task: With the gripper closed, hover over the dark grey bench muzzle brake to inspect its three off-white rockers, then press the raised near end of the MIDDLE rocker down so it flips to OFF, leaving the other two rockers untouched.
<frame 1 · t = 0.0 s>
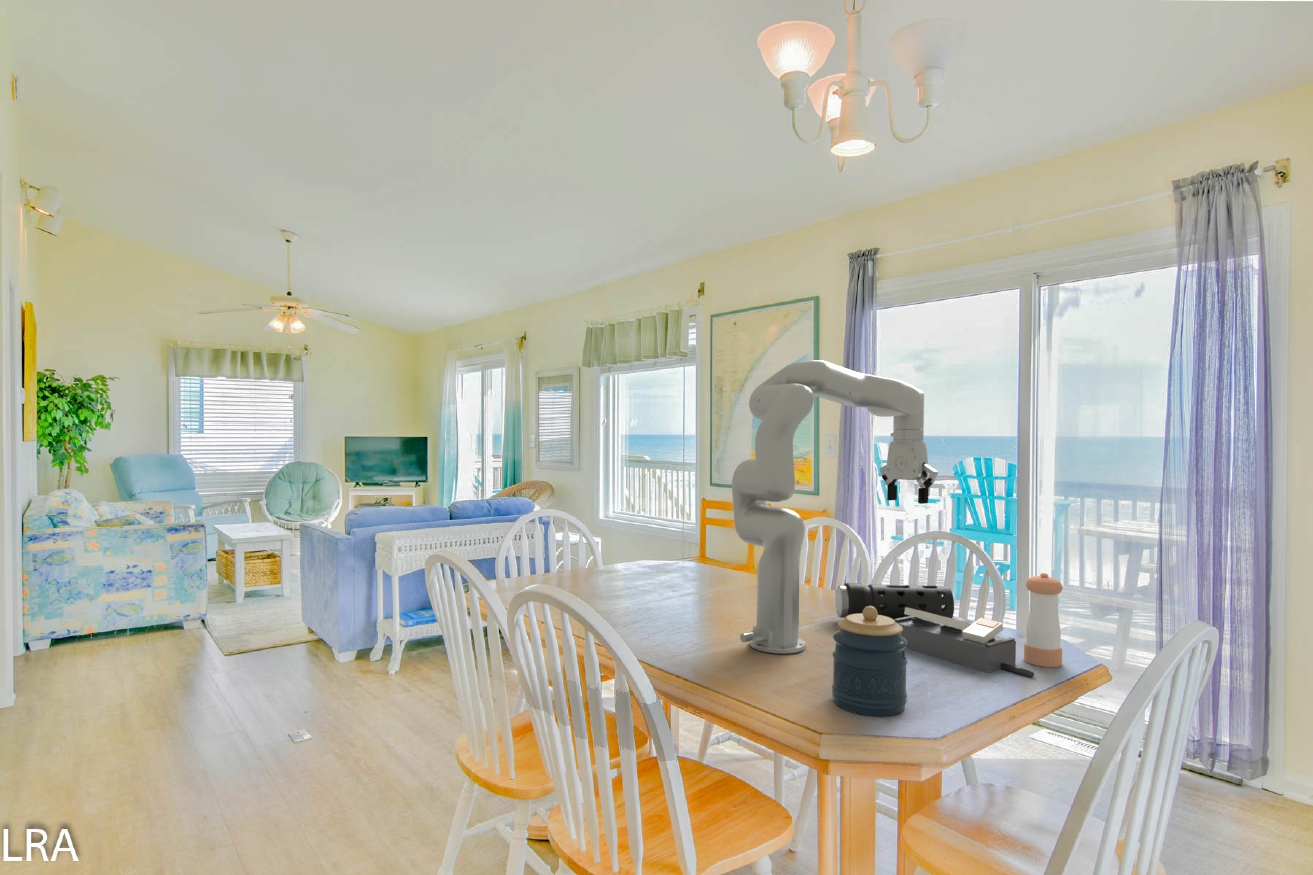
hand: (907, 501, 191), 31 cm above the table, fingers open, 9 cm apart
canister: (868, 704, 131), on the table
strip: (951, 653, 163), on the table
pepper shaker: (1042, 662, 157), on the table
rocker 3: (923, 614, 169), point 7 cm above the table, hinge at 17.0°
rocker 2: (951, 622, 163), point 7 cm above the table, hinge at 17.0°
muzzle brake: (892, 624, 188), on the table
rocker 1: (982, 630, 156), point 7 cm above the table, hinge at -17.0°
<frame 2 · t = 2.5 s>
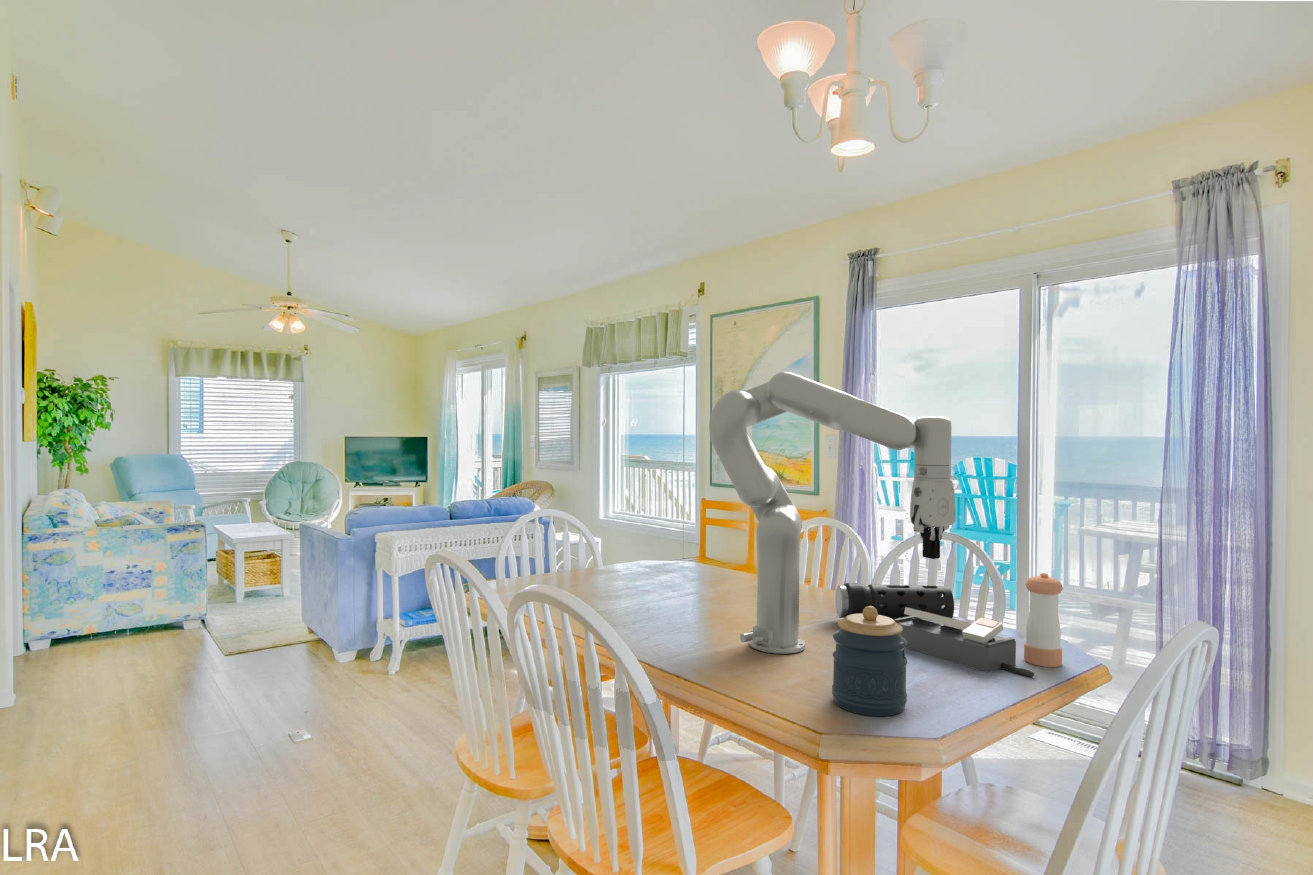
hand: (931, 557, 158), 22 cm above the table, fingers closed
nothing on the table moved.
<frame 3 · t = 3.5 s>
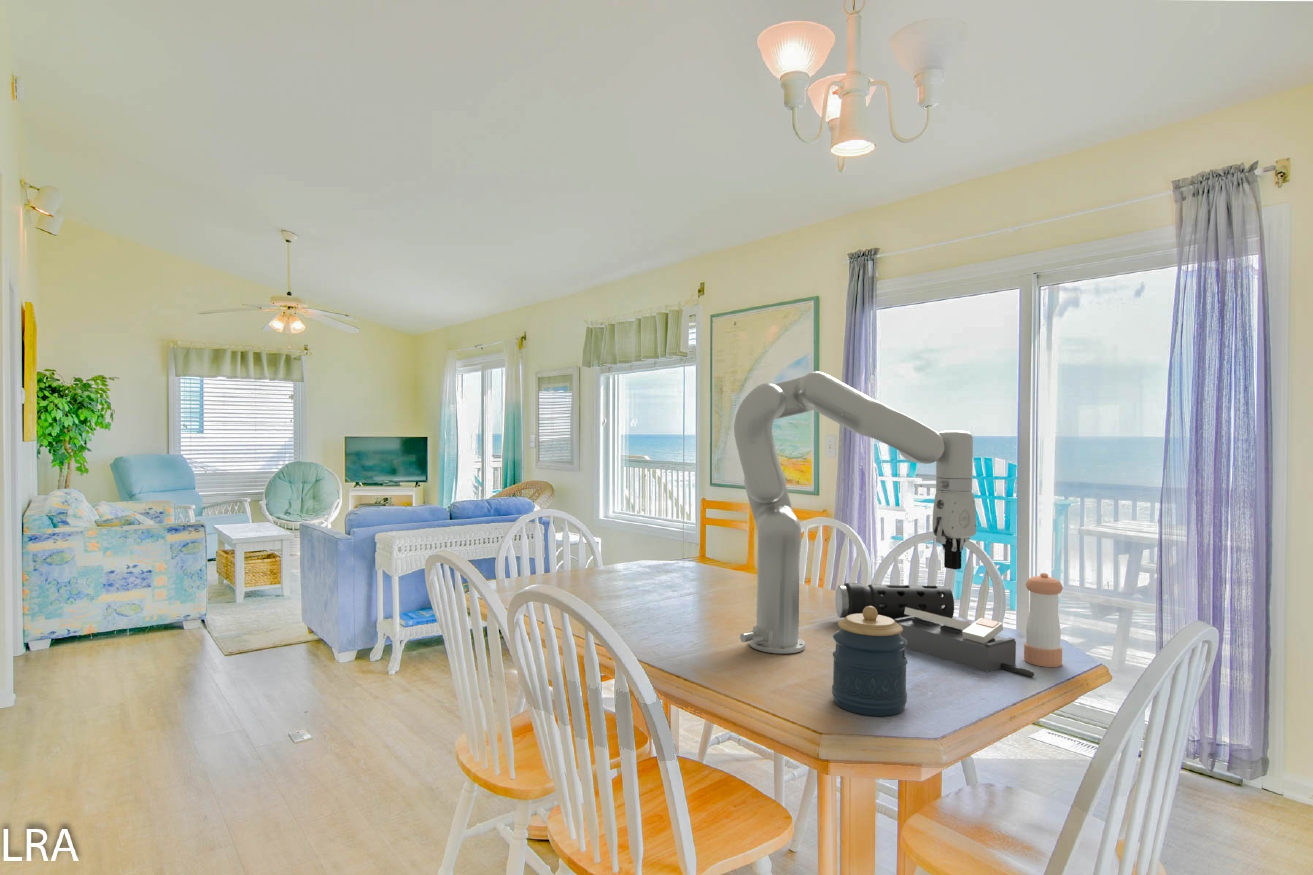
hand: (952, 568, 162), 19 cm above the table, fingers closed
nothing on the table moved.
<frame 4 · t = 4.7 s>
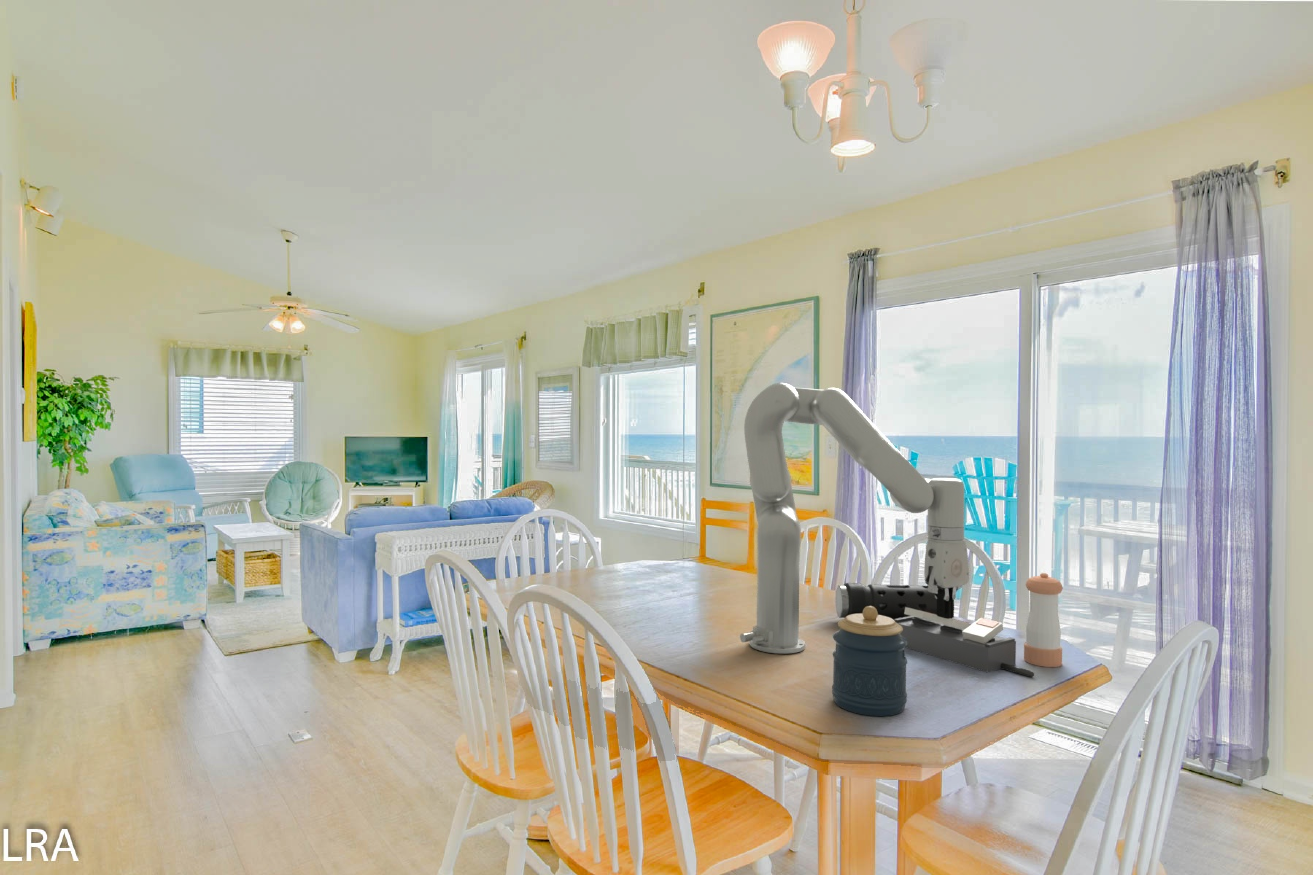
hand: (945, 616, 161), 9 cm above the table, fingers closed
rocker 2: (951, 622, 163), point 7 cm above the table, hinge at 17.0°, touching gripper
everything else where it was.
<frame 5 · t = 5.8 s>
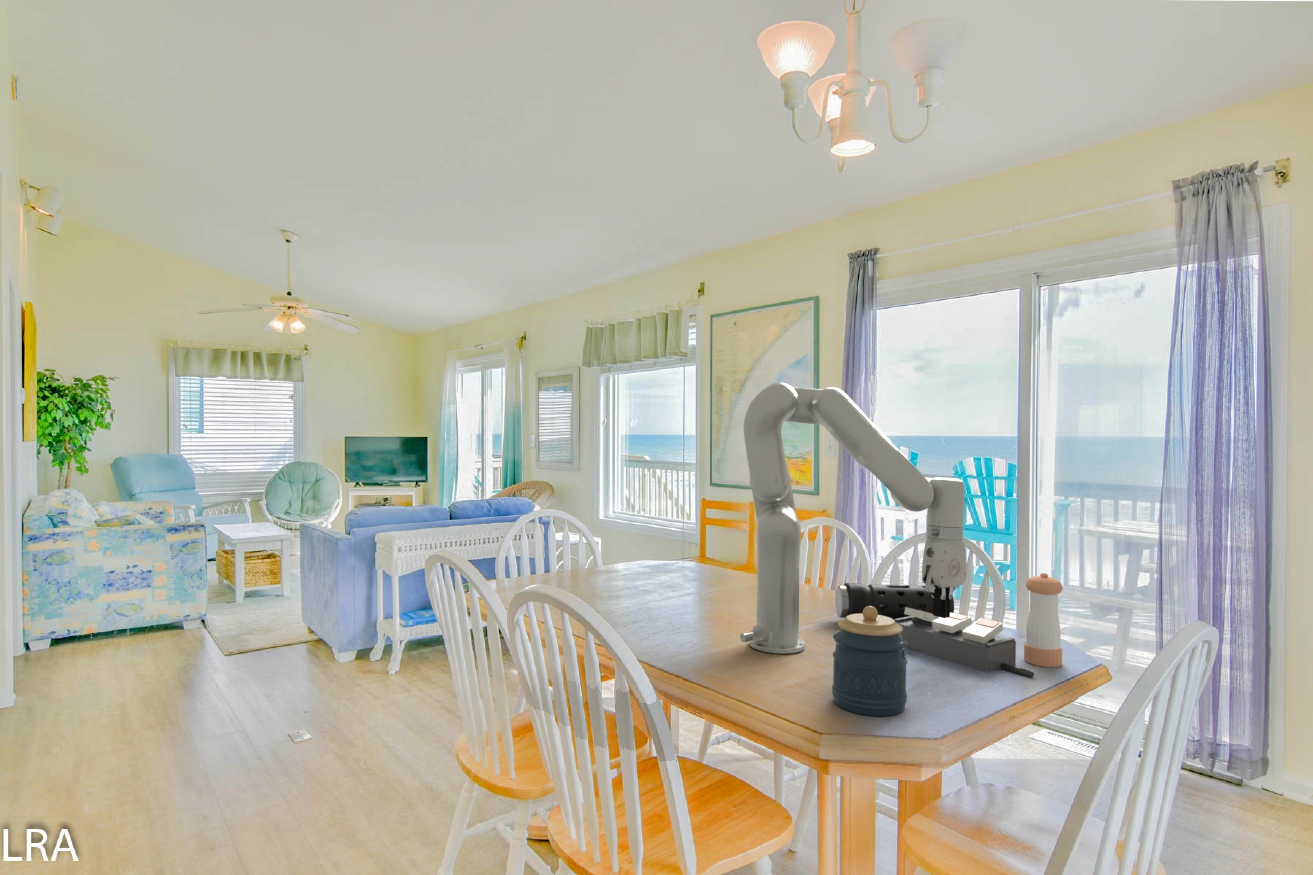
hand: (941, 616, 161), 9 cm above the table, fingers closed
rocker 2: (951, 622, 163), point 7 cm above the table, hinge at -8.9°
everything else where it was.
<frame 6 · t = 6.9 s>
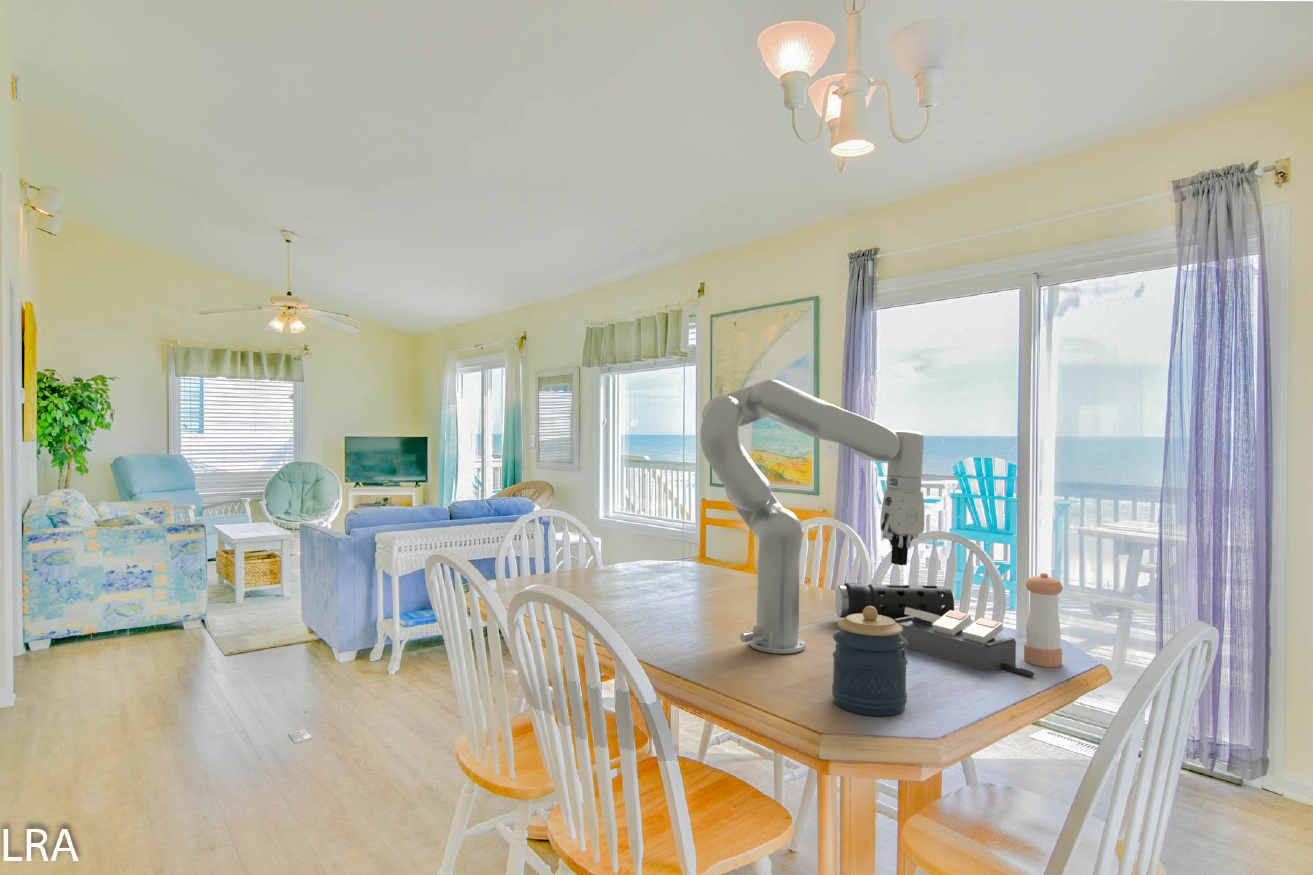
hand: (898, 563, 167), 19 cm above the table, fingers closed
rocker 2: (951, 622, 163), point 7 cm above the table, hinge at -19.8°, touching strip
everything else where it was.
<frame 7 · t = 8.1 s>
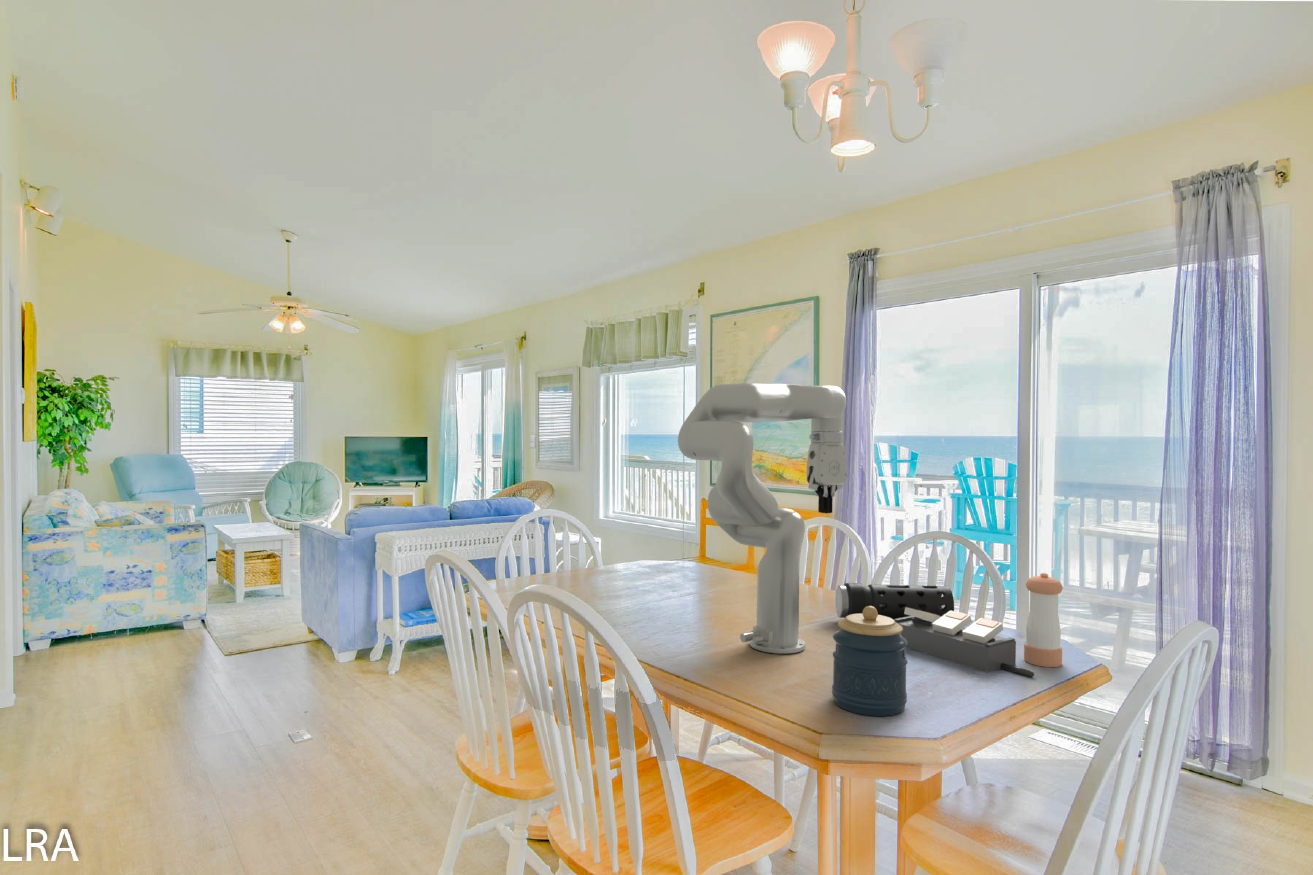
hand: (825, 512, 181), 29 cm above the table, fingers closed
rocker 2: (951, 622, 163), point 7 cm above the table, hinge at -17.7°
everything else where it was.
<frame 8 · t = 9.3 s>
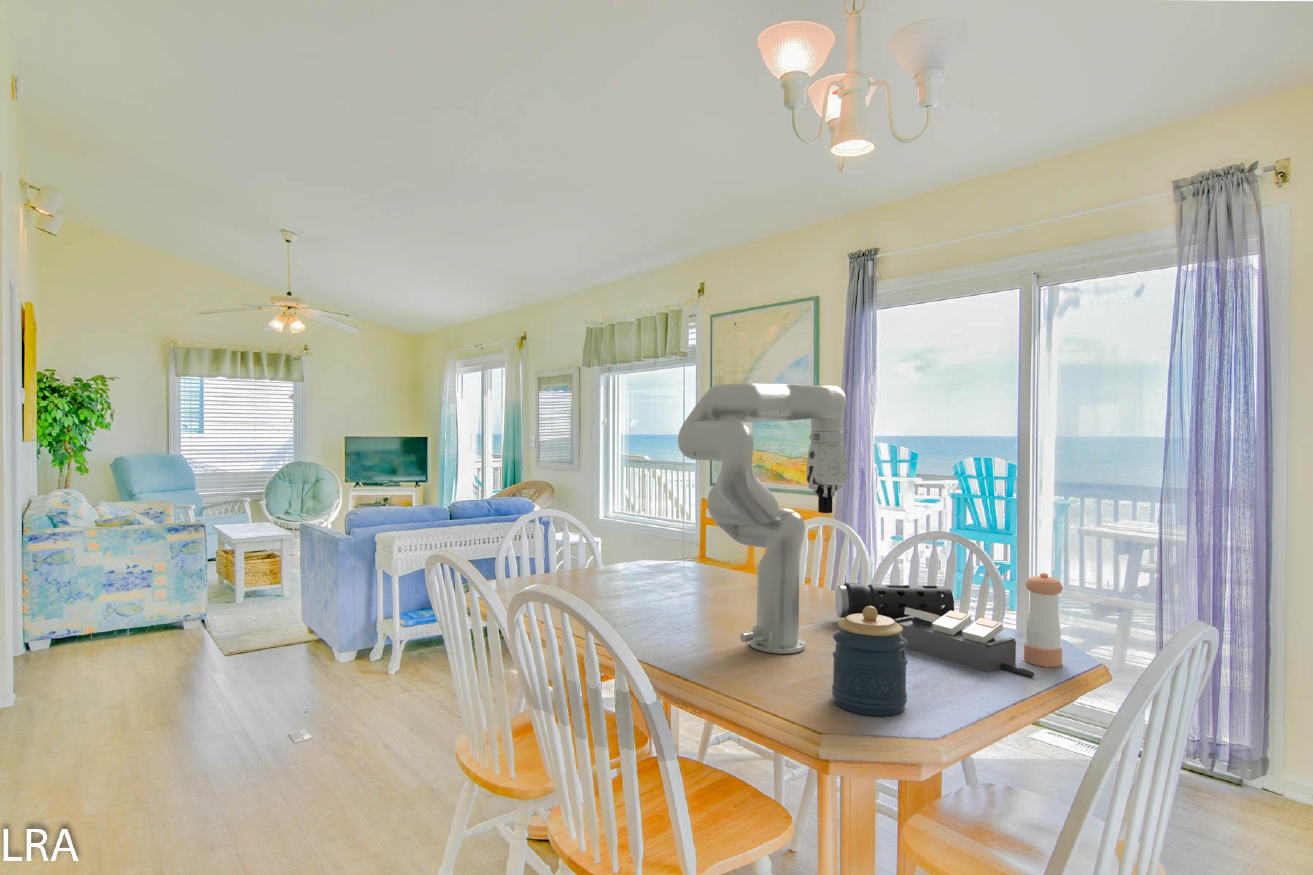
hand: (825, 512, 181), 29 cm above the table, fingers closed
rocker 2: (951, 622, 163), point 7 cm above the table, hinge at -17.2°
everything else where it was.
at the end: rocker 2 at -17° (first picture: +17°); rocker 3 at +17° (first picture: +17°); rocker 1 at -17° (first picture: -17°) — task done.
